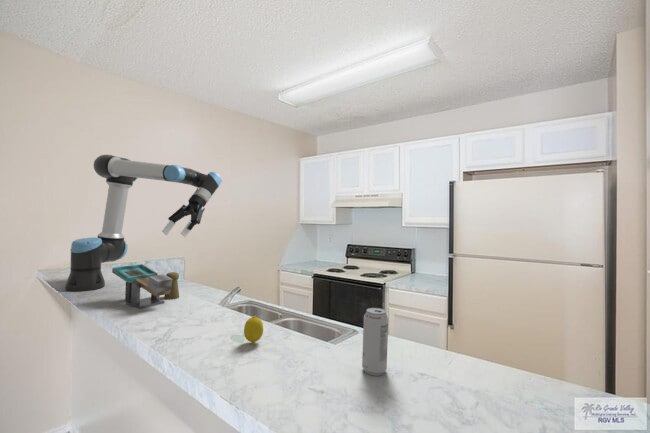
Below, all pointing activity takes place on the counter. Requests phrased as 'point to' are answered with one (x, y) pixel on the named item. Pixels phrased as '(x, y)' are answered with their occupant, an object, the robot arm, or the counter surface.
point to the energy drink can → (375, 341)
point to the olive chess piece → (173, 286)
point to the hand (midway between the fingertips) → (173, 234)
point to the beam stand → (134, 297)
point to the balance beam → (145, 278)
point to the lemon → (253, 329)
